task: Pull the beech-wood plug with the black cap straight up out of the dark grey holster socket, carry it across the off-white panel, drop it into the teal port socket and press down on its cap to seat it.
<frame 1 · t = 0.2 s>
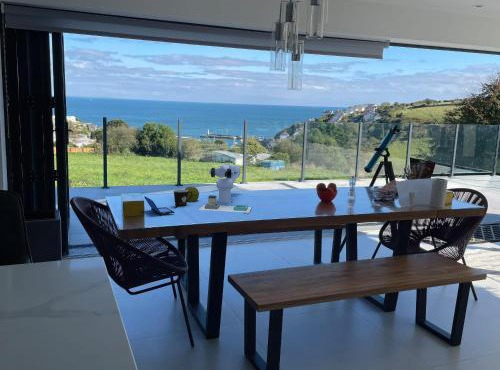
hand: (218, 174, 268), 21 cm above the table, tool horizontal, fingers open, 7 cm apart
apple: (190, 202, 291), on the table
coffee mug: (183, 207, 277), on the table
handheld game console: (159, 213, 262), on the table
panel: (225, 210, 272), on the table
plug: (212, 207, 273), point 1 cm above the table, touching panel
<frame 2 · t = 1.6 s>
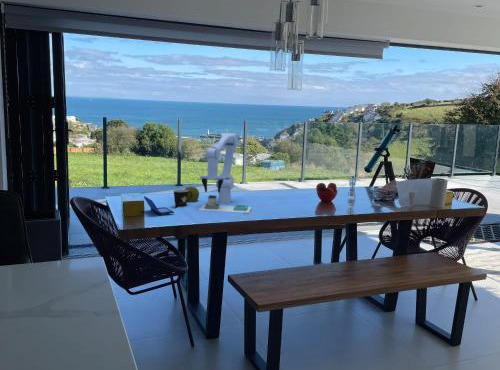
hand: (212, 192, 271), 10 cm above the table, tool pointing down, fingers open, 7 cm apart
nothing on the table moved.
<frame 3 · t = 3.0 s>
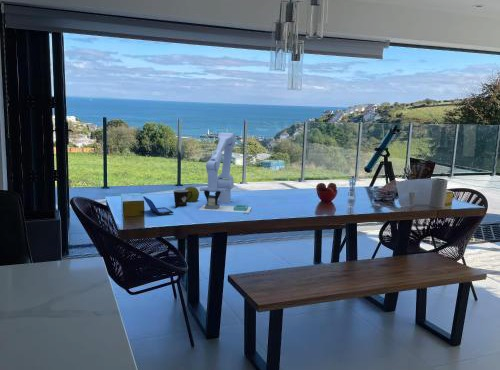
hand: (212, 203, 273), 3 cm above the table, tool pointing down, fingers closed on plug, 4 cm apart
plug: (212, 207, 273), point 1 cm above the table, touching gripper, panel
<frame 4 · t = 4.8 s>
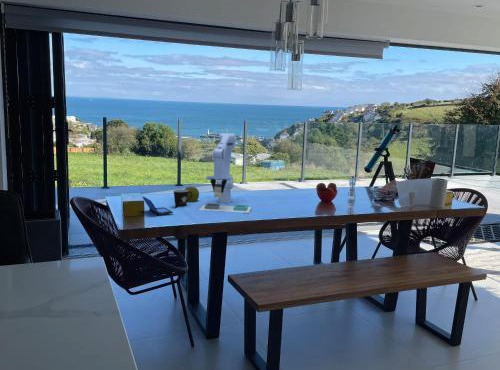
hand: (218, 192, 271), 10 cm above the table, tool pointing down, fingers closed on plug, 4 cm apart
plug: (218, 196, 271), point 8 cm above the table, touching gripper
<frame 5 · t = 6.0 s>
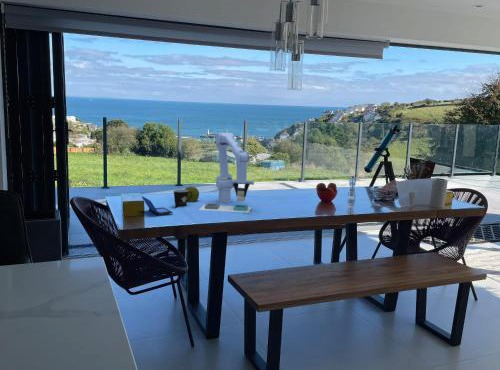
hand: (241, 196, 270), 9 cm above the table, tool pointing down, fingers closed on plug, 4 cm apart
plug: (241, 200, 270), point 6 cm above the table, touching gripper
when the fingers open (5 cm above the table, at t = 7.0 s): plug drops 1 cm, resting on panel.
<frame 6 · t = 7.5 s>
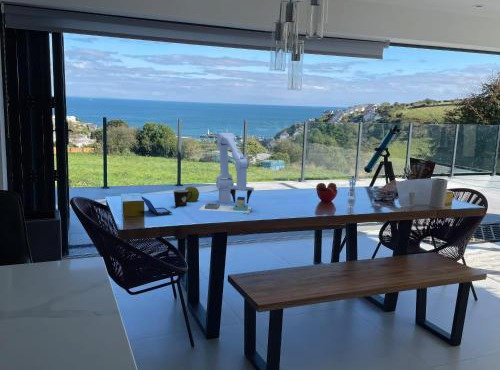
hand: (240, 202, 270), 5 cm above the table, tool pointing down, fingers open, 7 cm apart
plug: (240, 209, 271), point 1 cm above the table, touching panel
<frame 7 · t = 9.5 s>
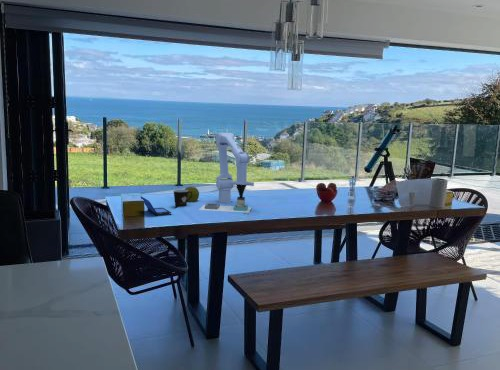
hand: (241, 197, 270), 8 cm above the table, tool pointing down, fingers closed
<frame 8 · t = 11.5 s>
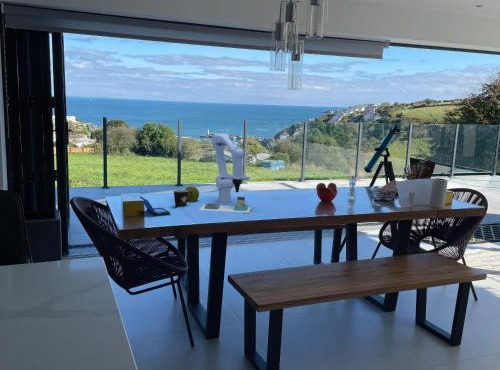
hand: (237, 192, 274), 10 cm above the table, tool pointing down, fingers closed
at the end: plug 0.1 cm from the target spot on the panel, point 1.0 cm above the panel's base; plug tilted 0°; the gripper is holding nothing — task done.
